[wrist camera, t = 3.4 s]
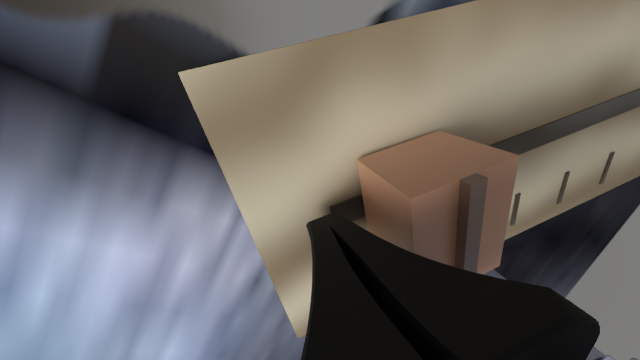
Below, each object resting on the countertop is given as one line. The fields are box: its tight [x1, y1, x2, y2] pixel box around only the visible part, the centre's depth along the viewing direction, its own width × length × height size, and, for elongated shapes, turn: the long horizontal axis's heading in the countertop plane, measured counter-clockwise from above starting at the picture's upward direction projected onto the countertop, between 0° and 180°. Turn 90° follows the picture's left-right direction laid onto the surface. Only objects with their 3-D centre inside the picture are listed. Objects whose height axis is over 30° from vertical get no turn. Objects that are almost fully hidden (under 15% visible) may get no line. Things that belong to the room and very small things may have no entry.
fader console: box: [178, 0, 640, 338], centre depth 15 cm, size 14×30×3 cm, turn 103°
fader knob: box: [357, 131, 520, 274], centre depth 10 cm, size 5×4×4 cm
